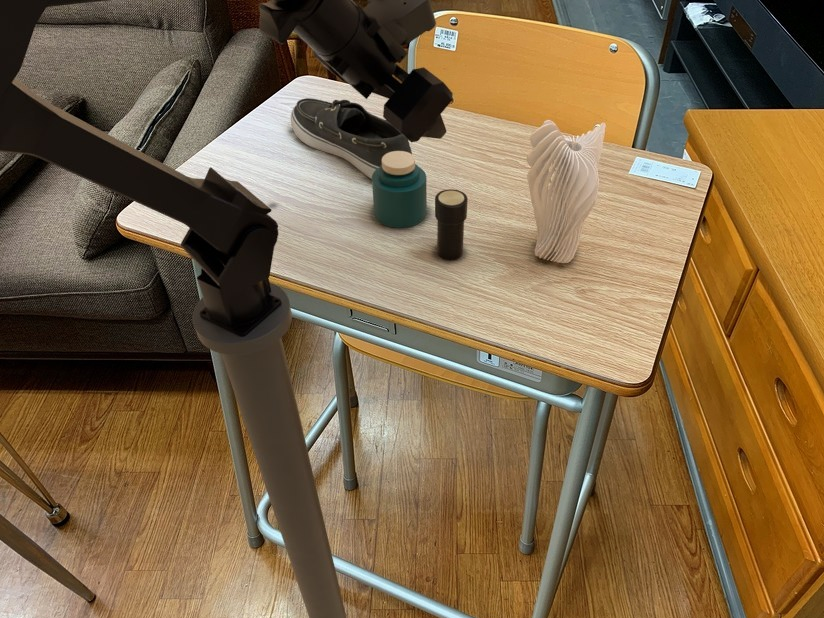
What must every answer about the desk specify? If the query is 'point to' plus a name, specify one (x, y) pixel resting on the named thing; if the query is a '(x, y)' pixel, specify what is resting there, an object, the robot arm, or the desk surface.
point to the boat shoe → (347, 132)
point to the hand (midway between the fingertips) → (419, 115)
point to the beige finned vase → (563, 187)
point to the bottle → (399, 191)
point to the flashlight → (450, 223)
